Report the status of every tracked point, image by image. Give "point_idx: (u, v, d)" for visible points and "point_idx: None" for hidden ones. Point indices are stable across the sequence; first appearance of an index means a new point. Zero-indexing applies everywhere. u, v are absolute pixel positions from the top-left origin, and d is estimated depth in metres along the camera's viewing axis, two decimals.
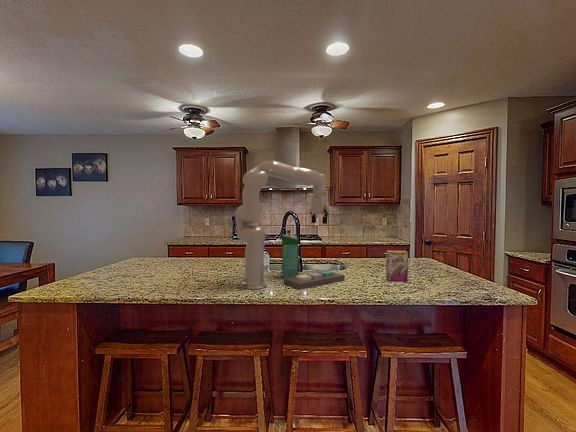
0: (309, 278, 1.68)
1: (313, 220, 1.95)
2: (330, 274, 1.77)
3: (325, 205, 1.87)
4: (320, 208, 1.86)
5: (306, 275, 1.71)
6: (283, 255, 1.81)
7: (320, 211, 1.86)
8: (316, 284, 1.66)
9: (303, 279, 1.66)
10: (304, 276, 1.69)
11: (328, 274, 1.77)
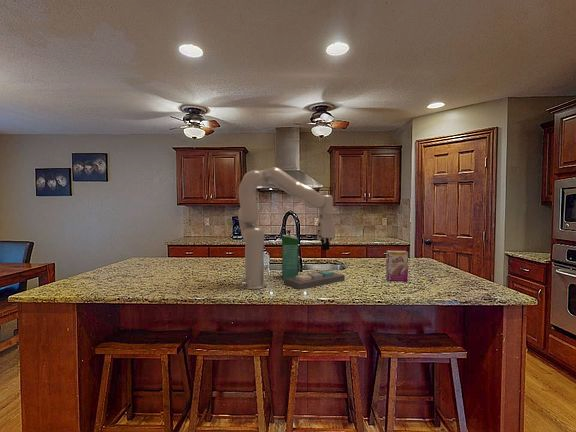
0: (309, 278, 1.68)
1: None
2: (330, 274, 1.77)
3: None
4: (334, 231, 1.79)
5: (306, 275, 1.71)
6: (283, 255, 1.81)
7: (334, 234, 1.79)
8: (316, 284, 1.66)
9: (303, 279, 1.66)
10: (304, 276, 1.69)
11: (328, 274, 1.77)
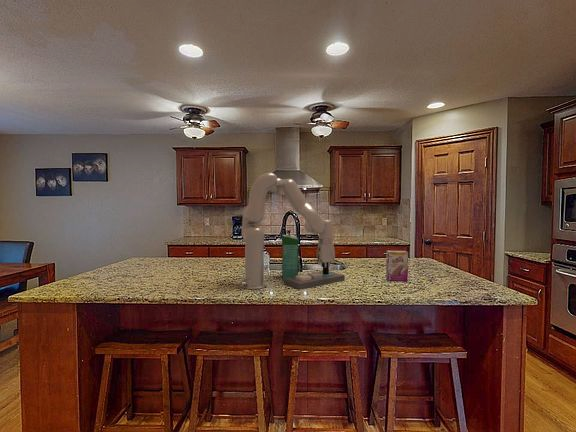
0: (309, 278, 1.68)
1: None
2: None
3: None
4: (334, 256, 1.79)
5: (306, 275, 1.71)
6: (283, 255, 1.81)
7: (334, 259, 1.79)
8: (316, 284, 1.66)
9: (303, 279, 1.66)
10: (304, 276, 1.69)
11: None
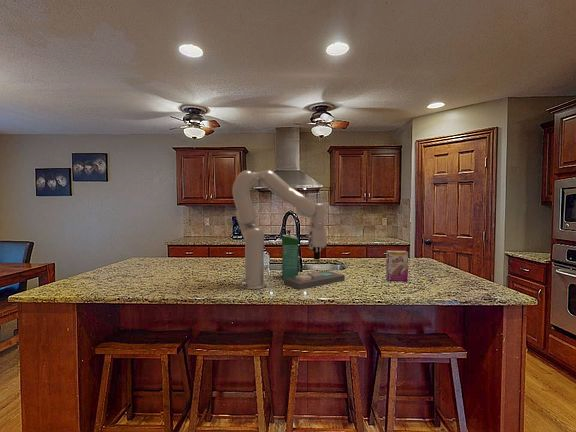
0: (309, 278, 1.68)
1: None
2: None
3: None
4: (325, 240, 1.75)
5: (306, 275, 1.71)
6: (283, 255, 1.81)
7: (325, 244, 1.75)
8: (316, 284, 1.66)
9: (303, 279, 1.66)
10: (304, 276, 1.69)
11: None
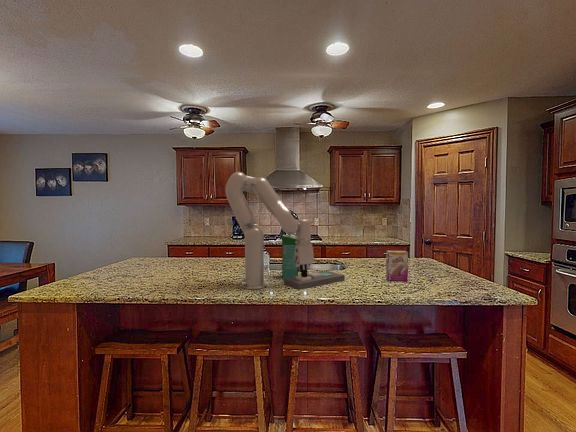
0: (309, 279, 1.68)
1: None
2: None
3: None
4: (312, 257, 1.70)
5: None
6: (283, 255, 1.81)
7: (312, 260, 1.70)
8: (316, 284, 1.66)
9: (303, 280, 1.66)
10: (304, 277, 1.69)
11: None
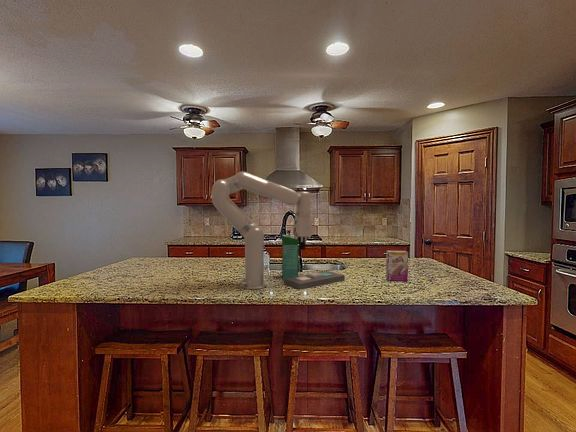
0: None
1: None
2: None
3: None
4: (311, 230, 1.70)
5: (306, 277, 1.71)
6: (283, 255, 1.81)
7: (311, 233, 1.70)
8: (316, 284, 1.66)
9: None
10: (304, 278, 1.69)
11: None
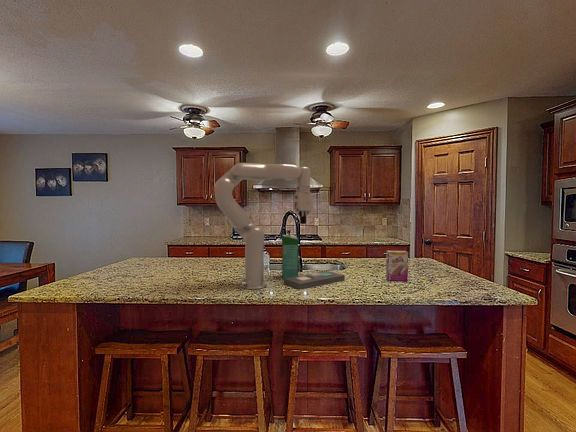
0: None
1: None
2: None
3: None
4: (311, 205, 1.73)
5: (306, 277, 1.71)
6: (283, 255, 1.81)
7: (311, 208, 1.74)
8: (316, 284, 1.66)
9: None
10: (304, 278, 1.69)
11: None
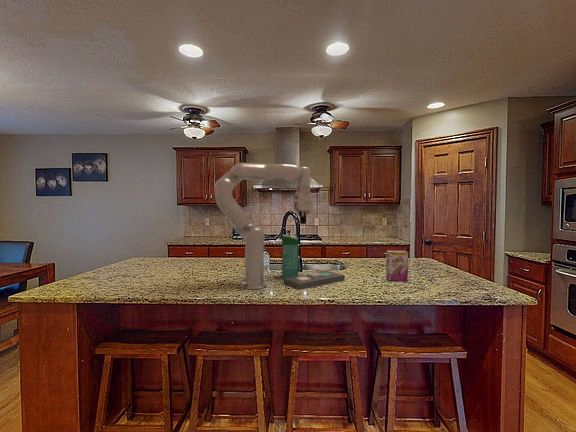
0: None
1: None
2: None
3: None
4: (311, 205, 1.73)
5: (306, 277, 1.71)
6: (283, 255, 1.81)
7: (311, 208, 1.74)
8: (316, 284, 1.66)
9: None
10: (304, 278, 1.69)
11: None
